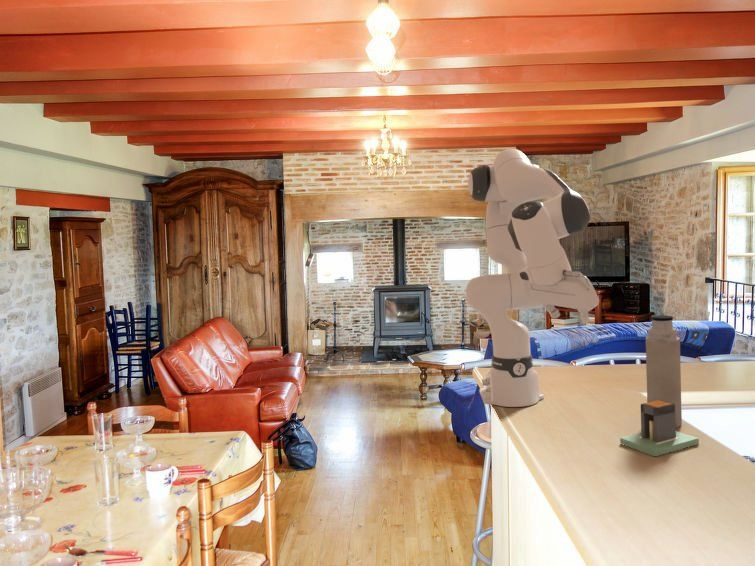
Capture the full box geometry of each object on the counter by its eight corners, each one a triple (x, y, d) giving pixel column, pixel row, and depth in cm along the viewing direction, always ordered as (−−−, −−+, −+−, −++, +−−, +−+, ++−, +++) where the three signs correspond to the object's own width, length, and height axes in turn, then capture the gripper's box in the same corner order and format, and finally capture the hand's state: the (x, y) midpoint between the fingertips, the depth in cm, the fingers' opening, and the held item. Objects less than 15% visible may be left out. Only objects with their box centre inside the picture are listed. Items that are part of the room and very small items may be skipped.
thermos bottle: (646, 417, 161) (643, 313, 159) (679, 418, 159) (677, 313, 156) (649, 427, 154) (646, 318, 151) (684, 428, 151) (681, 318, 149)
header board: (655, 457, 135) (654, 430, 134) (620, 443, 144) (619, 419, 143) (698, 444, 140) (698, 419, 140) (662, 432, 149) (661, 408, 149)
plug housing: (657, 442, 139) (656, 407, 138) (641, 437, 143) (640, 403, 142) (675, 437, 141) (675, 403, 140) (659, 432, 145) (658, 399, 144)
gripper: (593, 265, 131) (613, 318, 135) (530, 260, 149) (549, 307, 153) (574, 280, 128) (594, 333, 133) (512, 273, 147) (532, 320, 151)
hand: (570, 319), depth 143 cm, fingers open, 8 cm apart
